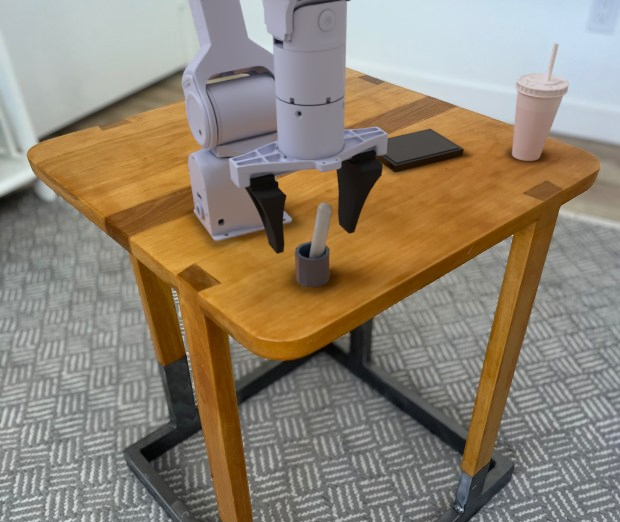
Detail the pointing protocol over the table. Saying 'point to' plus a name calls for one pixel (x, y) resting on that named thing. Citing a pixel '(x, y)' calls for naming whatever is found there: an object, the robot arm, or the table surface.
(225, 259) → the table surface
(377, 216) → the table surface
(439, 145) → the tablet
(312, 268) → the pencil cup
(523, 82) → the smoothie
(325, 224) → the stylus
